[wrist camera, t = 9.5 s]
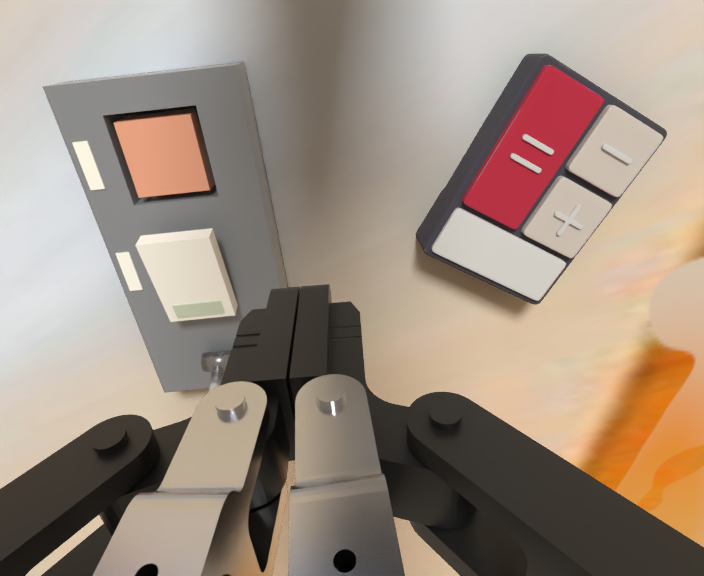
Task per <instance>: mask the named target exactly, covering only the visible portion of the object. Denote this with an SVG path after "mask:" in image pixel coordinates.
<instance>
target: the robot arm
mask: <svg viewBox="0 0 704 576" xmlns="http://www.w3.org/2000/svg"><path fill="white" fill-rule="evenodd" d="M291 460H295V486H291V489H290V500H289V571H288V576H405V574H404V569H403V564H402V559H401V554H400V549H399V544H398V538H397V533H396V528H395V523H394V518H393V517H397V518H401V519H405V520H409V521H410V523H411V525H412V527H413V529H414V530H415V532H416V533H417V534H418V535H419V536H420V537H421V538H422V539H423V540H424V541H425V542H426V543H427V544H428V545H429V546H430V547H431V548H432V549H433V550H434V551H435V552H437V553H438V554H439V555H440V556H441V557H442V558H443V559H444V560H445V561H446V562H447V563H448V564H449V565H450V566H451V567H452V568H453V569H454V570H455V571H456V572H457V573H458V574H459V575H460V576H704V547H702V546H700V545H699V544H697V543H695V542H694V541H692V540H691V539H689V538H688V537H686V536H684V535H683V534H681V533H680V532H678V531H677V530H675V529H673V528H672V527H670V526H669V525H667V524H666V523H664V522H662V521H661V520H659V519H657V518H656V517H655V516H653V515H651V514H650V513H648V512H647V511H645V510H643V509H642V508H640V507H639V506H637V505H636V504H634V503H632V502H631V501H629V500H627V499H626V498H624V497H623V496H621V495H620V494H618V493H617V492H615V491H613V490H612V489H610V488H609V487H607V486H606V485H604V484H602V483H601V482H599V481H598V480H596V479H594V478H593V477H591V476H590V475H588V474H587V473H585V472H583V471H582V470H580V469H579V468H577V467H575V466H574V465H572V464H571V463H569V462H568V461H566V460H564V459H563V458H561V457H560V456H558V455H556V454H555V453H553V452H552V451H550V450H549V449H547V448H545V447H544V446H542V445H541V444H539V443H537V442H536V441H534V440H533V439H531V438H530V437H528V436H526V435H525V434H523V433H522V432H520V431H518V430H517V429H515V428H514V427H512V426H511V425H509V424H507V423H506V422H504V421H503V420H501V419H499V418H498V417H496V416H495V415H493V414H492V413H490V412H488V411H487V410H485V409H484V408H482V407H480V406H479V405H477V404H476V403H474V402H473V401H471V400H469V399H468V398H466V397H464V396H461V395H459V394H455V393H450V392H434V393H429V394H426V395H424V396H421V397H420V398H418V399H416V400H415V401H414V402H413V403H412V404H411V406H410V407H406V406H400V405H395V404H391V403H388V402H385V401H383V400H381V399H379V398H378V397H377V396H375V395H374V394H373V393H372V392H371V391H370V390H369V388H368V387H367V384H366V381H365V372H364V359H363V347H362V335H361V322H360V312H359V311H358V310H357V309H356V307H355V306H354V305H353V304H352V303H351V302H340V303H332V300H331V291H330V285H329V284H327V285H315V286H302V287H301V289H300V287H291V288H278V289H271V291H270V294H269V299H268V303H267V307H266V308H265V309H253V310H251V311H250V312H249V313H248V314H247V315H246V316H245V317H244V318H243V319H242V320H241V321H240V324H239V327H238V330H237V334H236V338H235V340H234V343H233V349H231V353H230V356H229V359H228V362H227V365H226V368H225V372H224V375H223V378H222V381H221V384H220V386H219V387H217V388H215V389H213V390H212V391H210V392H209V393H207V394H206V395H205V396H204V397H203V398H202V399H201V401H200V402H199V403H198V405H197V407H196V409H195V411H194V414H193V416H192V417H190V418H188V419H186V420H183V421H181V422H178V423H174V424H171V425H168V426H165V427H162V428H159V429H156V430H153V429H152V427H151V425H150V423H149V421H147V420H146V419H145V418H143V417H141V416H138V415H122V416H117V417H113V418H110V419H108V420H105V421H103V422H101V423H99V424H97V425H96V426H94V427H92V428H91V429H89V430H88V431H86V432H85V433H83V434H82V435H81V436H79V437H78V438H76V439H75V440H73V441H72V442H70V443H69V444H67V445H66V446H64V447H63V448H61V449H60V450H58V451H57V452H55V453H54V454H52V455H51V456H49V457H48V458H46V459H45V460H43V461H42V462H40V463H39V464H37V465H36V466H34V467H33V468H31V469H30V470H28V471H27V472H25V473H24V474H22V475H21V476H19V477H18V478H16V479H15V480H13V481H12V482H10V483H9V484H7V485H6V486H4V487H3V488H1V489H0V576H25V575H26V574H27V573H28V572H29V571H30V570H31V569H32V568H33V567H34V566H36V565H37V564H38V563H39V562H41V561H42V560H43V559H44V558H45V557H47V556H48V555H49V554H50V553H52V552H53V551H54V550H55V549H57V548H58V547H59V546H60V545H62V544H63V543H64V542H65V541H67V540H68V539H69V538H70V537H71V536H73V535H74V534H75V533H76V532H78V531H79V530H80V529H81V528H83V527H84V526H85V525H86V524H88V523H89V522H90V521H91V520H92V519H94V518H95V517H96V516H97V515H100V517H101V519H102V520H103V522H104V524H103V525H102V526H100V527H99V528H98V529H97V530H96V531H94V532H93V533H92V534H91V535H90V536H88V537H87V538H86V539H85V540H83V541H82V542H81V543H80V544H79V545H77V546H76V547H75V548H74V549H73V550H71V551H70V552H69V553H68V554H67V555H65V556H64V557H63V558H62V559H61V560H59V561H58V562H57V563H56V564H55V565H53V566H52V567H51V568H50V569H48V570H47V571H46V572H45V573H44V574H42V575H41V576H272V575H273V569H274V564H275V558H276V553H277V548H278V542H279V537H280V531H281V526H282V521H283V515H284V510H285V504H286V499H287V484H286V478H287V469H288V461H291Z"/></svg>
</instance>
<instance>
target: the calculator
mask: <svg viewBox="0 0 704 576" xmlns="http://www.w3.org/2000/svg"><path fill="white" fill-rule="evenodd" d="M666 135H667V132H666V130H665V129H664V128H662V127H661V126H659V125H657V124H656V123H654V122H653V121H651V120H650V119H648V118H647V117H645V116H643V115H642V114H640V113H639V112H637V111H636V110H634V109H633V108H631V107H629V106H628V105H626V104H625V103H623V102H622V101H620V100H619V99H617V98H615V97H614V96H612V95H611V94H609V93H608V92H606V91H604V90H603V89H601V88H600V87H598V86H597V85H595V84H594V83H592V82H590V81H589V80H587V79H586V78H584V77H583V76H581V75H580V74H578V73H576V72H575V71H573V70H572V69H570V68H569V67H567V66H566V65H564V64H562V63H561V62H559V61H558V60H556V59H555V58H553V57H551V56H550V55H548V54H528V55H526V56H525V57H524V58H523V60H522V61H521V63H520V64H519V66H518V68H517V69H516V71H515V73H514V74H513V76H512V78H511V79H510V81H509V82H508V84H507V86H506V87H505V89H504V91H503V92H502V94H501V95H500V97H499V99H498V100H497V102H496V104H495V105H494V107H493V109H492V110H491V112H490V113H489V115H488V117H487V118H486V120H485V122H484V123H483V125H482V127H481V128H480V130H479V132H478V133H477V135H476V137H475V138H474V140H473V142H472V143H471V145H470V147H469V149H468V150H467V152H466V154H465V155H464V157H463V159H462V160H461V162H460V164H459V165H458V167H457V169H456V170H455V172H454V174H453V176H452V177H451V179H450V181H449V182H448V184H447V186H446V187H445V188H444V190H443V191H442V192H441V193H440V195H439V196H438V198H437V200H436V201H435V203H434V205H433V206H432V208H431V209H430V211H429V213H428V214H427V216H426V218H425V219H424V221H423V222H422V224H421V226H420V227H419V229H418V231H417V233H416V237H417V239H418V241H419V243H420V245H421V247H422V249H423V251H424V252H425V253H426V254H427V255H429V256H431V257H434V258H436V259H438V260H440V261H442V262H444V263H446V264H448V265H451V266H453V267H455V268H457V269H459V270H461V271H463V272H465V273H468V274H470V275H472V276H474V277H476V278H478V279H480V280H483V281H485V282H487V283H489V284H491V285H493V286H495V287H497V288H500V289H502V290H504V291H506V292H508V293H510V294H512V295H515V296H517V297H519V298H521V299H523V300H525V301H527V302H529V303H532V304H539V303H540V302H541V301H542V300H543V298H544V297H545V296H546V294H547V293H548V292H549V290H550V289H551V288H552V287H553V285H554V284H555V283H556V281H557V280H558V279H559V277H560V276H561V275H562V273H563V272H564V271H565V269H566V268H567V267H568V266H569V264H570V263H571V262H572V260H573V259H574V258H575V256H576V255H577V254H578V252H579V251H580V250H581V248H582V247H583V246H584V244H585V243H586V242H587V241H588V239H589V238H590V237H591V235H592V234H593V233H594V231H595V230H596V229H597V227H598V226H599V225H600V223H601V222H602V221H603V220H604V218H605V217H606V216H607V214H608V213H609V212H610V210H611V209H612V208H613V206H614V205H615V204H616V202H617V201H618V200H619V198H620V197H621V196H622V195H623V193H624V192H625V191H626V189H627V188H628V187H629V185H630V184H631V183H632V181H633V180H634V179H635V177H636V176H637V175H638V174H639V172H640V171H641V170H642V168H643V167H644V166H645V164H646V163H647V162H648V160H649V159H650V158H651V156H652V155H653V154H654V152H655V151H656V150H657V149H658V147H659V146H660V145H661V143H662V142H663V141H664V139H665V138H666Z"/></svg>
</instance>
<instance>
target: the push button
mask: <svg viewBox="0 0 704 576" xmlns="http://www.w3.org/2000/svg"><path fill="white" fill-rule="evenodd" d="M114 126H115V129H116V132H117V135H118V138H119V141H120V144H121V147H122V150H123V153H124V156H125V159H126V162H127V165H128V168H129V170H130V173H131V176H132V179H133V182H134V185H135V188H136V191H137V194H138V197H139V198H142V197H151V196H160V195H170V194H179V193H188V192H198V191H207V190H210V189H211V188H212V187H213V186H214V184H215V180H214V176H213V172H212V168H211V164H210V160H209V156H208V152H207V148H206V144H205V140H204V136H203V132H202V128H201V124H200V120H199V116H198V112H197V108H193V109H184V110H175V111H166V112H157V113H148V114H139V115H130V116H128V117H126V118H123V119H121V120H119V121H116V122H114Z"/></svg>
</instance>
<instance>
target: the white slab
mask: <svg viewBox="0 0 704 576" xmlns="http://www.w3.org/2000/svg"><path fill="white" fill-rule="evenodd" d="M135 246H136V248H137V250H138V252H139V255H140V257H141V259H142V261H143V263H144V265H145V268H146V270H147V272H148V274H149V276H150V278H151V281H152V283H153V285H154V287H155V289H156V291H157V294H158V296H159V298H160V300H161V302H162V305H163V307H164V309H165V311H166V313H167V315H168V318H169V320H170V322H175V321H185V320H195V319H205V318H215V317H225V316H235V315H236V311H237V306H238V305H237V301H236V298H235V295H234V292H233V289H232V286H231V283H230V280H229V277H228V274H227V271H226V268H225V265H224V262H223V259H222V255H221V252H220V249H219V246H218V243H217V240H216V237H215V234H214V231H213V228H209V229H200V230H190V231H181V232H171V233H162V234H152V235H143V236H140V238H139V240H138V241H137V243H136V245H135Z"/></svg>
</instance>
